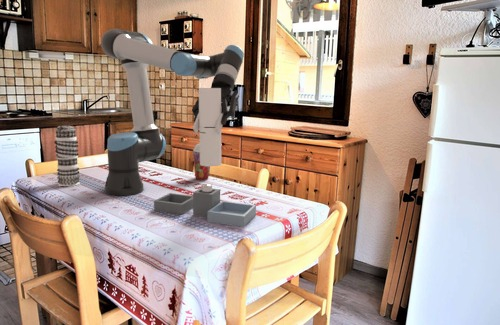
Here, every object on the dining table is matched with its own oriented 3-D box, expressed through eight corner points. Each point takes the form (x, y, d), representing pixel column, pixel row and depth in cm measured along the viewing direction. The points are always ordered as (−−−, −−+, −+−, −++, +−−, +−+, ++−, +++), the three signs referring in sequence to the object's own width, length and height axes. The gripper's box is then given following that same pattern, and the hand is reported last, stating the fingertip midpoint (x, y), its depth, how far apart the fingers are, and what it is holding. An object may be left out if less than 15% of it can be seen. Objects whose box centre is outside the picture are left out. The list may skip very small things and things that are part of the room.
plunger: (199, 197, 132) (199, 185, 131) (204, 194, 135) (204, 183, 135) (209, 198, 131) (209, 186, 130) (213, 195, 134) (213, 184, 134)
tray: (207, 221, 126) (207, 211, 125) (221, 210, 138) (222, 200, 137) (244, 227, 122) (244, 216, 122) (255, 214, 134) (256, 205, 133)
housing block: (193, 214, 132) (193, 192, 131) (201, 209, 139) (201, 187, 137) (212, 217, 130) (212, 194, 128) (219, 211, 137) (220, 189, 135)
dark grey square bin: (154, 210, 135) (153, 200, 135) (169, 202, 146) (169, 193, 145) (182, 214, 132) (182, 204, 132) (196, 205, 142) (196, 196, 142)
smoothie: (213, 177, 186) (214, 136, 182) (206, 181, 178) (206, 138, 174) (198, 175, 188) (198, 135, 184) (189, 179, 181) (189, 137, 177)
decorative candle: (56, 187, 160) (52, 127, 155) (57, 182, 168) (53, 125, 163) (80, 186, 164) (77, 127, 159) (80, 181, 172) (77, 124, 167)
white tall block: (218, 166, 126) (217, 88, 121) (196, 165, 127) (195, 87, 122) (223, 162, 132) (223, 88, 128) (203, 161, 134) (202, 88, 129)
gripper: (253, 88, 136) (238, 139, 124) (201, 88, 142) (182, 136, 130) (249, 72, 130) (232, 124, 118) (195, 72, 136) (173, 122, 124)
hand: (206, 130), depth 124 cm, fingers closed on white tall block, 7 cm apart
